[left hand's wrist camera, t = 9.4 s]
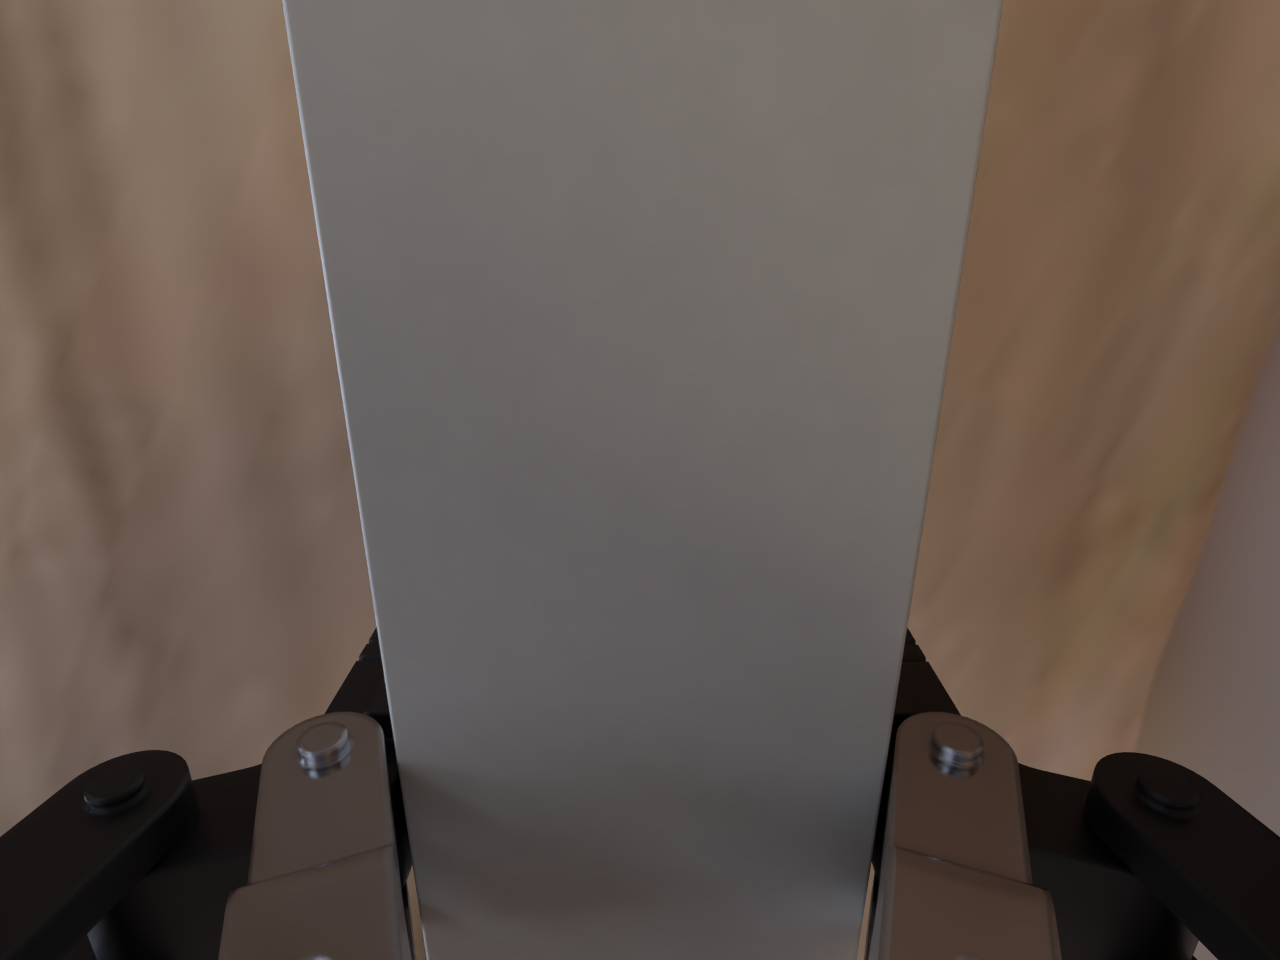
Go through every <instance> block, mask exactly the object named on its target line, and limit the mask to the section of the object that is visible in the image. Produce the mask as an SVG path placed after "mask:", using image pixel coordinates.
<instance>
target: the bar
mask: <svg viewBox="0 0 1280 960" xmlns="http://www.w3.org/2000/svg"><path fill="white" fill-rule="evenodd" d="M282 2H283V9H284V15H285V22H286V29H287V35H288V42H289V49H290V55H291V62H292V68H293V75H294V82H295V88H296V95H297V102H298V108H299V115H300V121H301V128H302V135H303V141H304V148H305V155H306V161H307V168H308V174H309V181H310V188H311V194H312V201H313V208H314V214H315V221H316V227H317V234H318V241H319V247H320V254H321V261H322V267H323V274H324V280H325V287H326V294H327V300H328V307H329V314H330V320H331V327H332V333H333V340H334V347H335V353H336V360H337V367H338V373H339V380H340V386H341V393H342V400H343V406H344V413H345V419H346V426H347V433H348V439H349V446H350V453H351V459H352V466H353V472H354V479H355V486H356V492H357V499H358V506H359V512H360V519H361V525H362V532H363V539H364V545H365V552H366V559H367V565H368V572H369V578H370V585H371V592H372V598H373V605H374V612H375V618H376V625H377V631H378V638H379V645H380V651H381V658H382V665H383V671H384V678H385V684H386V691H387V698H388V704H389V711H390V718H391V724H392V731H393V737H394V744H395V751H396V757H397V764H398V771H399V777H400V784H401V790H402V797H403V804H404V810H405V817H406V824H407V830H408V837H409V843H410V850H411V857H412V863H413V870H414V877H415V883H416V890H417V896H418V903H419V910H420V916H421V923H422V930H423V936H424V943H425V949H426V956H427V960H856V958H857V952H858V945H859V939H860V932H861V926H862V919H863V912H864V906H865V899H866V893H867V886H868V880H869V873H870V867H871V860H872V854H873V847H874V841H875V834H876V828H877V821H878V815H879V808H880V801H881V795H882V788H883V782H884V775H885V769H886V762H887V756H888V749H889V743H890V736H891V730H892V723H893V717H894V710H895V704H896V697H897V691H898V684H899V677H900V671H901V664H902V658H903V651H904V645H905V638H906V632H907V625H908V619H909V612H910V606H911V599H912V593H913V586H914V580H915V573H916V566H917V560H918V553H919V547H920V540H921V534H922V527H923V521H924V514H925V508H926V501H927V495H928V488H929V482H930V475H931V469H932V462H933V456H934V449H935V442H936V436H937V429H938V423H939V416H940V410H941V403H942V397H943V390H944V384H945V377H946V371H947V364H948V358H949V351H950V345H951V338H952V331H953V325H954V318H955V312H956V305H957V299H958V292H959V286H960V279H961V273H962V266H963V260H964V253H965V247H966V240H967V234H968V227H969V221H970V214H971V207H972V201H973V194H974V188H975V181H976V175H977V168H978V162H979V155H980V149H981V142H982V136H983V129H984V123H985V116H986V110H987V103H988V96H989V90H990V83H991V77H992V70H993V64H994V57H995V51H996V44H997V38H998V31H999V25H1000V18H1001V12H1002V5H1003V0H282Z"/></svg>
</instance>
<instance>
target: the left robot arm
mask: <svg viewBox="0 0 1280 960" xmlns="http://www.w3.org/2000/svg"><path fill="white" fill-rule="evenodd" d="M871 861H872V864H873V867H874V870H875V873H874V880H873V886H872V893H871V901H870V910H869V919H868V928H867V937H866V946H865V955H864V960H1197V959H1196V958H1195V957H1194V956H1193V953H1194V951H1195V948H1196V946H1197V943H1198V941H1200V942H1201V943H1202V944H1203V945H1204V946H1205V947H1206V948H1207V949H1208V950H1209V951H1210V952H1211V953H1212V954H1213V955H1214V956H1215V957H1216V958H1217V959H1218V960H1280V837H1279V836H1278V835H1276V834H1275V833H1274V832H1273V831H1271V830H1270V829H1269V828H1268V827H1266V826H1265V825H1264V824H1263V823H1261V822H1260V821H1259V820H1257V819H1256V818H1255V817H1254V816H1253V815H1251V814H1250V813H1249V812H1247V811H1246V810H1245V809H1244V808H1242V807H1241V806H1240V805H1239V804H1237V803H1236V802H1235V801H1234V800H1232V799H1231V798H1230V797H1229V796H1227V795H1226V794H1225V793H1224V792H1222V791H1221V790H1220V789H1218V788H1217V787H1216V786H1215V785H1213V784H1212V783H1210V782H1209V781H1208V780H1206V779H1205V778H1203V777H1202V776H1200V775H1198V774H1197V773H1195V772H1193V771H1191V770H1189V769H1187V768H1185V767H1183V766H1181V765H1179V764H1176V763H1174V762H1172V761H1169V760H1166V759H1163V758H1160V757H1156V756H1152V755H1147V754H1141V753H1132V752H1122V753H1114V754H1111V755H1107V756H1106V757H1104V758H1102V759H1101V760H1100V761H1099V762H1098V763H1097V765H1096V767H1095V769H1094V772H1093V776H1092V779H1091V781H1087V780H1082V779H1078V778H1073V777H1069V776H1065V775H1060V774H1056V773H1051V772H1047V771H1042V770H1039V769H1035V768H1031V767H1028V766H1025V765H1022V764H1020V763H1018V761H1017V757H1016V755H1015V753H1014V751H1013V749H1012V748H1011V747H1010V745H1009V744H1008V743H1007V742H1006V741H1005V740H1004V739H1003V738H1002V737H1001V736H1000V735H999V734H997V733H996V732H995V731H993V730H992V729H990V728H988V727H987V726H985V725H983V724H981V723H979V722H977V721H975V720H972V719H970V718H967V717H964V716H961V715H960V713H959V711H958V710H957V708H956V706H955V705H954V703H953V702H952V700H951V698H950V697H949V695H948V693H947V692H946V690H945V688H944V687H943V685H942V684H941V682H940V680H939V679H938V677H937V675H936V674H935V672H934V670H933V669H932V667H931V666H930V664H929V662H926V657H925V656H924V654H923V652H922V651H921V649H920V647H919V646H918V645H916V644H915V639H914V638H913V636H912V634H911V633H910V631H909V629H908V628H907V632H906V638H905V645H904V651H903V658H902V664H901V671H900V677H899V684H898V691H897V697H896V704H895V710H894V717H893V723H892V730H891V736H890V743H889V749H888V756H887V762H886V769H885V775H884V782H883V788H882V795H881V801H880V808H879V815H878V821H877V828H876V834H875V841H874V847H873V854H872V860H871ZM412 864H413V863H412V857H411V850H410V843H409V837H408V830H407V824H406V817H405V810H404V804H403V797H402V790H401V784H400V777H399V771H398V764H397V757H396V751H395V744H394V737H393V731H392V724H391V718H390V711H389V704H388V698H387V691H386V684H385V678H384V671H383V665H382V658H381V651H380V645H379V638H378V631H377V628H376V629H375V631H374V633H373V634H372V636H371V638H370V639H369V644H366V646H365V648H364V649H363V651H362V653H361V654H360V656H359V661H356V663H355V664H354V666H353V668H352V669H351V671H350V672H349V674H348V676H347V677H346V679H345V681H344V682H343V684H342V686H341V687H340V689H339V691H338V692H337V694H336V696H335V697H334V699H333V701H332V702H331V704H330V706H329V707H328V709H327V711H326V712H325V714H323V715H320V716H316V717H313V718H310V719H308V720H305V721H303V722H301V723H299V724H297V725H295V726H293V727H292V728H290V729H288V730H287V731H285V732H284V733H283V734H281V735H280V736H279V737H278V738H277V739H276V740H275V741H274V742H273V743H272V744H271V745H270V747H269V748H268V749H267V751H266V753H265V755H264V757H263V761H262V764H260V765H257V766H253V767H250V768H246V769H242V770H237V771H233V772H228V773H224V774H219V775H215V776H211V777H206V778H202V779H197V780H193V781H192V779H191V775H190V772H189V768H188V765H187V763H186V761H185V760H184V759H183V758H182V757H181V756H179V755H177V754H175V753H172V752H169V751H162V750H147V751H140V752H134V753H130V754H126V755H122V756H119V757H116V758H113V759H111V760H108V761H106V762H103V763H101V764H99V765H97V766H95V767H93V768H91V769H89V770H87V771H86V772H84V773H82V774H81V775H79V776H78V777H76V778H75V779H73V780H72V781H71V782H69V783H68V784H67V785H65V786H64V787H63V788H62V789H60V790H59V791H58V792H56V793H55V794H54V795H53V796H51V797H50V798H49V799H48V800H46V801H45V802H44V803H43V804H41V805H40V806H39V807H38V808H36V809H35V810H34V811H33V812H31V813H30V814H29V815H27V816H26V817H25V818H24V819H22V820H21V821H20V822H19V823H17V824H16V825H15V826H14V827H12V828H11V829H10V830H9V831H7V832H6V833H5V834H4V835H2V836H1V837H0V960H416V954H415V945H414V936H413V927H412V918H411V909H410V900H409V892H408V886H407V878H408V875H409V872H410V869H411V866H412Z"/></svg>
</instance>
